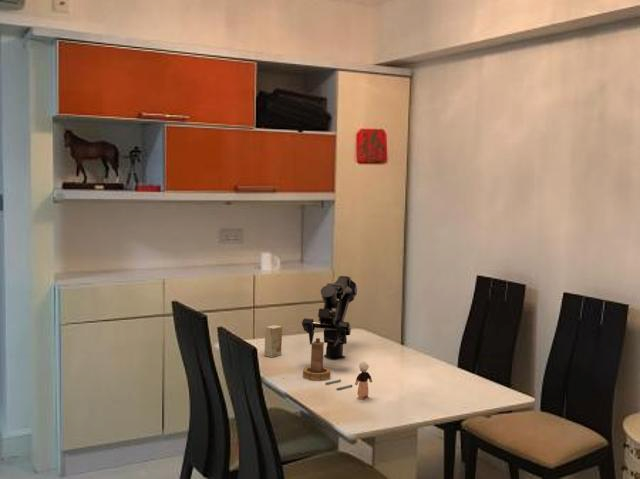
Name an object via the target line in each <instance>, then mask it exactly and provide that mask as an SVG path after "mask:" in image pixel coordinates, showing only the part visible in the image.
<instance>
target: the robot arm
mask: <svg viewBox="0 0 640 479" xmlns="http://www.w3.org/2000/svg"><path fill="white" fill-rule="evenodd" d="M320 294H321V299H322V303H323V304H324V305H323V307H322V308H319V309H318V312H317V314H318V315H317V318H318V322H314V318H309V317H308V318H306V317H305V318H303V319H302V321H301V322H302V323H301V326H302V328H303V331H305V332H306V333H307V334H308V337H309V338H308V339H309V345H311V346H312V343H313V342H314V341H313V340H314V335H315V332H314V331H315V329H323V342H324V344H326V347H325V354H323V357H325V358H328V359H331V360H338V359H339V360H340V359H343V358H344V359H345V358H346V356H345V355H344V354H343V352H344V345H346V344H347V341H348V338H347V336H350V335H351V332H352V329H351V324H350V322H349V321H345V317H346V314H347V311H348V307H349V304H350V303H351V302H353V301H354V300H355V298H356V296H357V294H358V287H357V284H356V283H355V281H353V280H352V278H351V276H345V275H340V276H338V278H337V279H336V281H335V282H334V283H328V282H327V283H326V285H324V286H323V287H322V288H321V289H320Z"/></svg>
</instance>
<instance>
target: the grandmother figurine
mask: <svg viewBox="0 0 640 479" xmlns="http://www.w3.org/2000/svg"><path fill="white" fill-rule="evenodd" d="M358 367H359V371H360V372H361V373H358V374H357V377H356V378H355V382H354V385H355V386H357V385H358V388H357V398H356V399H358V400H361V401H365V400H366V399H370V397H369V382H370V384H371V383H373V379H372V376H371V375H370V373H369V372H368V369H369V368H370V367H369V364H368V363H367V362H366V361H361V362H359V365H358ZM368 380H369V381H368Z"/></svg>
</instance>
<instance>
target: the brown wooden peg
mask: <svg viewBox="0 0 640 479" xmlns="http://www.w3.org/2000/svg"><path fill="white" fill-rule="evenodd" d="M324 344H325V343H324V341H321V338H319V337H316V338H315V340H314V341H312V344H311V356H310V357H311V358H310V367H311V373H323V367H324V348H325V347H324Z"/></svg>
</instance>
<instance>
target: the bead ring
mask: <svg viewBox="0 0 640 479" xmlns="http://www.w3.org/2000/svg"><path fill="white" fill-rule="evenodd" d="M302 378H303V379H305V380H309V381H314V382H316V381H318V382H321V381H327V380H330V378H331V369H330V368H328V367H325V366H323V373H311V366H306V367H304V368H303V370H302Z"/></svg>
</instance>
